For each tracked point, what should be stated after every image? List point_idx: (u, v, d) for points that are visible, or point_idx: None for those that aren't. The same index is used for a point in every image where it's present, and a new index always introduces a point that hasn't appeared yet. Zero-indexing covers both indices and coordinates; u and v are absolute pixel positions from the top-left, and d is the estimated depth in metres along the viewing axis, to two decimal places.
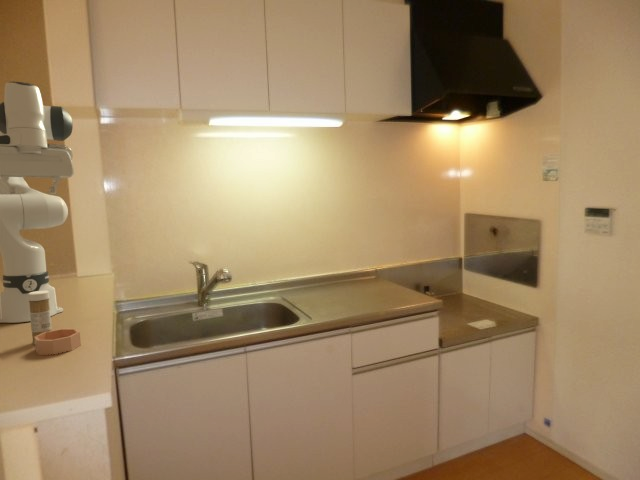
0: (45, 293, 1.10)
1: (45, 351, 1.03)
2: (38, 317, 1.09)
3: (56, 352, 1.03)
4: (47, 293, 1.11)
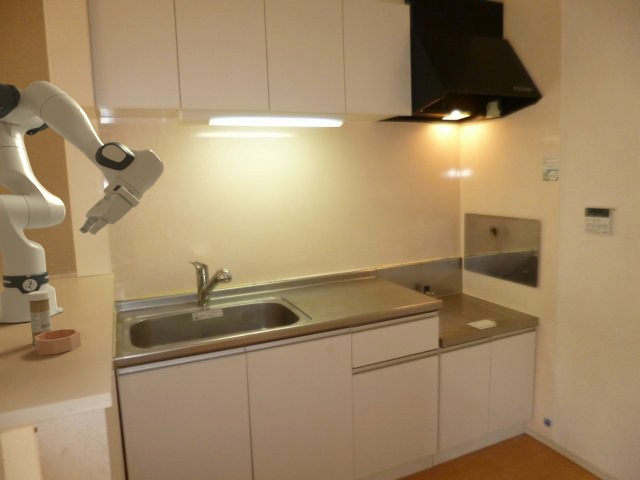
0: (45, 293, 1.10)
1: (45, 351, 1.03)
2: (38, 317, 1.09)
3: (56, 352, 1.03)
4: (47, 293, 1.11)
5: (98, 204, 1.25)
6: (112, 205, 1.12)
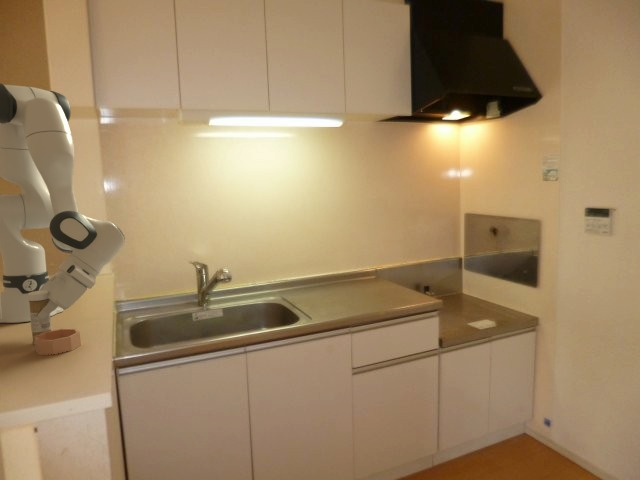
0: (45, 293, 1.10)
1: (45, 351, 1.03)
2: (38, 317, 1.09)
3: (56, 352, 1.03)
4: (47, 293, 1.11)
5: (53, 279, 1.19)
6: (64, 291, 1.06)
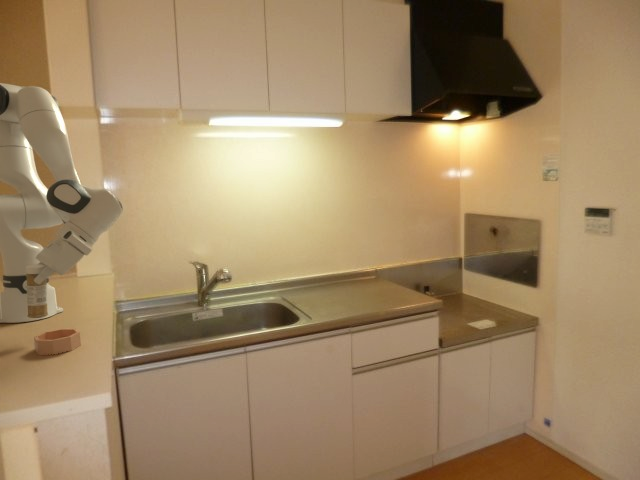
0: (42, 267, 1.09)
1: (45, 351, 1.03)
2: (34, 290, 1.09)
3: (56, 352, 1.03)
4: None
5: (50, 246, 1.18)
6: (60, 256, 1.05)
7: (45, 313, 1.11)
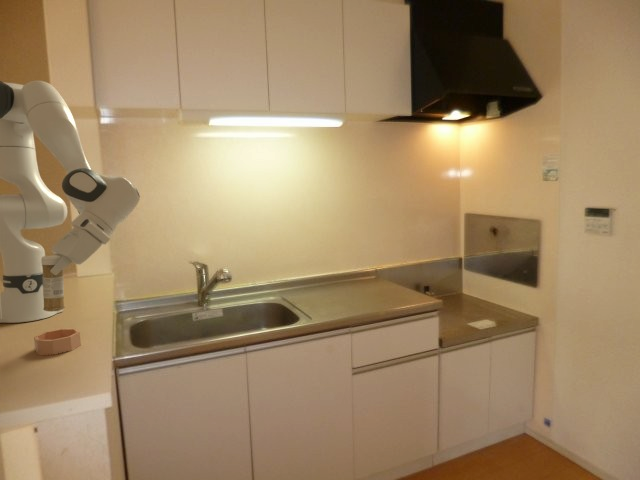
0: (59, 258, 1.05)
1: (45, 351, 1.03)
2: (51, 282, 1.04)
3: (56, 352, 1.03)
4: None
5: (65, 237, 1.13)
6: (78, 244, 1.00)
7: (62, 306, 1.06)
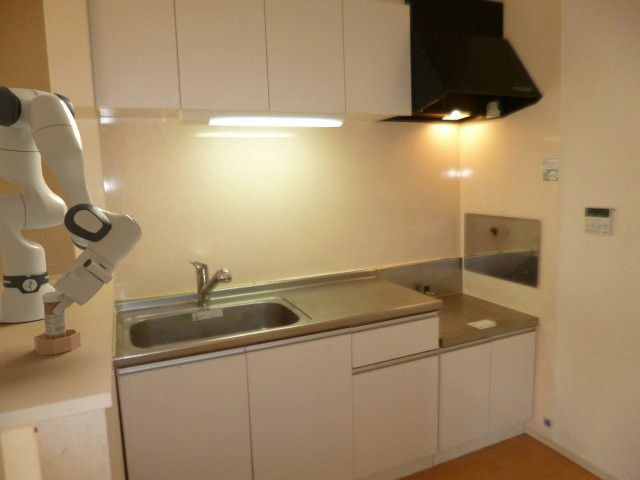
0: (60, 295, 1.05)
1: (45, 351, 1.03)
2: (52, 319, 1.04)
3: (56, 352, 1.03)
4: (62, 294, 1.06)
5: (68, 274, 1.14)
6: (80, 286, 1.01)
7: None
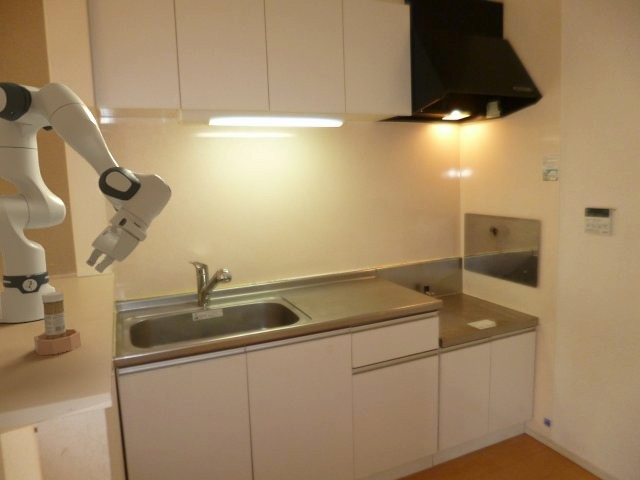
0: (59, 294, 1.05)
1: (45, 351, 1.03)
2: (52, 319, 1.04)
3: (56, 352, 1.03)
4: (61, 294, 1.06)
5: (104, 233, 1.20)
6: (118, 243, 1.06)
7: None
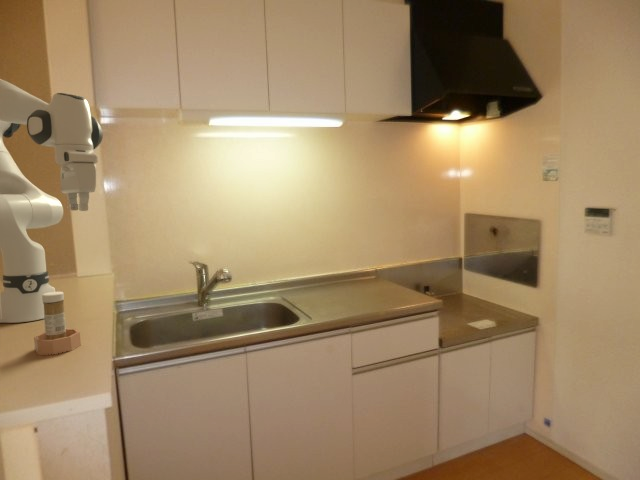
0: (60, 294, 1.05)
1: (45, 351, 1.03)
2: (52, 319, 1.04)
3: (56, 352, 1.03)
4: (62, 294, 1.06)
5: (63, 176, 1.16)
6: (78, 177, 1.04)
7: None
